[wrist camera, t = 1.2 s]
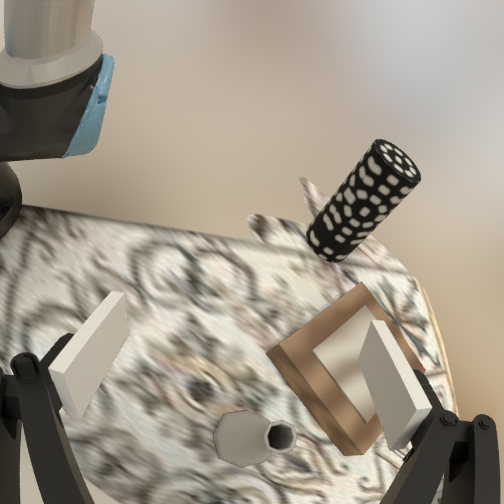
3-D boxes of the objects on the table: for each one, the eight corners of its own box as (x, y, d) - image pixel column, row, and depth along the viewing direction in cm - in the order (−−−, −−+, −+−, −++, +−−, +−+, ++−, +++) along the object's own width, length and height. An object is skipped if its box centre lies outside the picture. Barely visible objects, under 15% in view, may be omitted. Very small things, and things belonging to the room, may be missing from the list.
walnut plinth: (265, 353, 38) (280, 342, 35) (346, 292, 48) (363, 279, 45) (344, 455, 33) (365, 454, 30) (408, 377, 43) (427, 369, 40)
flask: (270, 468, 30) (314, 474, 22) (209, 464, 28) (237, 473, 20) (274, 412, 34) (318, 401, 26) (216, 405, 32) (245, 393, 25)
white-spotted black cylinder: (313, 214, 56) (376, 131, 41) (350, 239, 56) (419, 164, 41) (300, 244, 51) (372, 154, 35) (342, 271, 51) (422, 192, 35)
